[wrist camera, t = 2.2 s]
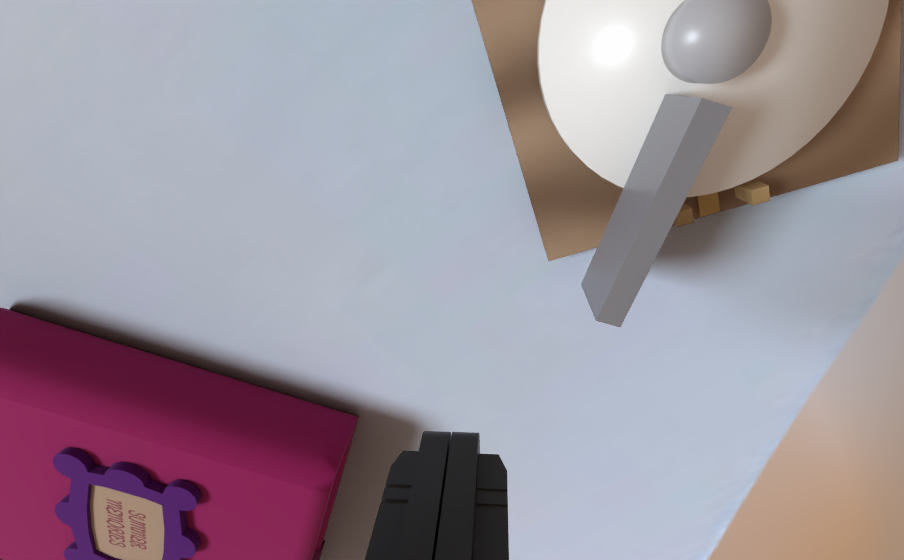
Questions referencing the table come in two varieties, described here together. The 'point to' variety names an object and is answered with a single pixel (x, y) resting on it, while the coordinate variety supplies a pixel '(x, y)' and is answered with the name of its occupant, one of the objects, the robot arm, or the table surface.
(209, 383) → the book
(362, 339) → the table surface
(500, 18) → the level stand
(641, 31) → the dial
